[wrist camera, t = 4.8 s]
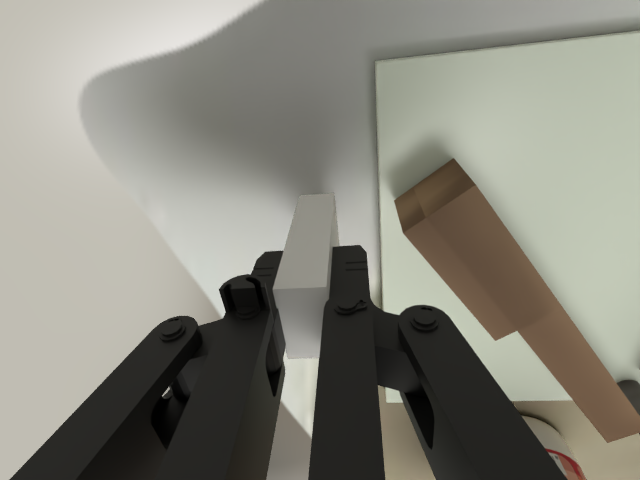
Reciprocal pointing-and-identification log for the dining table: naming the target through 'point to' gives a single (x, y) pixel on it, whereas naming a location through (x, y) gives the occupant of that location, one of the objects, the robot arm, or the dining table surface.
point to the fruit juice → (556, 448)
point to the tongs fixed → (631, 392)
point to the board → (525, 186)
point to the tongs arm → (508, 290)
